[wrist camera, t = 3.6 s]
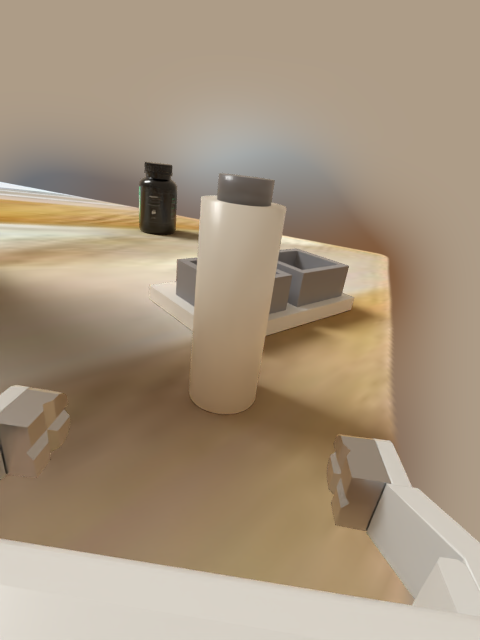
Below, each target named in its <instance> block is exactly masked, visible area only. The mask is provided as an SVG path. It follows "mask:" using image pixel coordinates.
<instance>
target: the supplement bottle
mask: <svg viewBox="0 0 480 640" xmlns="http://www.w3.org/2000/svg"><path fill="white" fill-rule="evenodd" d="M144 172H145V173H146V177H144V178H143V179H142V180H141V181H140V182H139V227H140V230H141V231H143V232H145V233H150V234H158V235H168V234H173V233H174V232H175V230H176V210H177V186H176V184H175V182H173V181H172V180H171V176H172V165H169V164H161V163H153V162H145V170H144Z"/></svg>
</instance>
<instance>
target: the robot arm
mask: <svg viewBox="0 0 480 640" xmlns="http://www.w3.org/2000/svg"><path fill="white" fill-rule="evenodd" d="M67 405H68V399H67V395H66V394H64V393H62V392H56V391H50V390H45V389H39V388H33V387H32V388H31V387H26V386H20V385H14V386H10V387H9V388H8V389H7V390H5V391H4V392H3V393H2V394H1V395H0V480H1V479H3V478H4V477H6V474H7V475H15V476H23V477H31V478H37V477H38V476H39V475H40V473H41V472H42V471H43V469H44V468H45V467H46V465H47V464H48V463H49V462H50V460H51V455H50V453H51V452H53V451H55V450H56V449H58V448H60V447H61V446H62V444H63V443H64V441H65V440H66V437H67V435H68V432H69V429H70V416H69V415H68V413H67V412H66V411H65V410H64V409H65V408H66V406H67ZM334 448H335V452H334V453H333V454H331V455H330V458H329V462H328V468H327V482H328V488H329V490H330V491H331V492H332V494H333V499H332V502H331V505H332V511H333V516H334V521H335V525H337V526H342V527H347V528H353V529H358V530H363V531H367V532H366V533H367V534H368V536H369V537H370V539H371V540H372V541H373V543H374V544H375V545H376V547H377V548H378V550H379V551H380V552H381V554H382V555H383V557H384V558H385V559H386V561H387V562H388V563H389V565H390V566H391V568H392V569H393V570H394V572H395V573H396V575H397V576H398V577H399V579H400V580H401V581H402V583H403V584H404V586H405V587H406V588H407V590H408V591H409V593H410V594H411V595H412V597H413V598H414V599H415V601H414V602H413V604H412V605H406V604H400V603H394V602H388V601H381V600H375V599H369V598H363V597H357V596H351V595H345V594H338V593H332V592H326V591H320V590H314V589H308V588H302V587H296V586H289V585H283V584H277V583H271V582H265V581H259V580H253V579H246V578H240V577H234V576H228V575H222V574H216V573H210V572H203V571H197V570H191V569H185V568H179V567H173V566H166V565H160V564H154V563H148V562H142V561H136V560H129V559H123V558H117V557H111V556H105V555H99V554H92V553H86V552H80V551H74V550H68V549H62V548H56V547H50V546H44V545H38V544H32V543H26V542H20V541H14V540H7V539H1V538H0V640H480V543H479V542H478V541H477V540H476V539H475V538H474V537H473V536H471V535H470V534H469V533H468V532H467V531H466V530H465V529H464V528H462V527H461V526H460V525H459V524H458V523H457V522H456V521H455V520H453V519H452V518H451V517H450V516H449V515H448V514H446V513H445V512H444V511H443V510H442V509H441V508H440V507H439V506H438V505H436V504H435V503H434V502H433V501H432V500H431V499H430V498H428V497H427V496H426V495H425V494H424V493H423V492H421V490H419V489H418V488H413V487H412V485H411V483H410V480H409V478H408V476H407V474H406V471H405V469H404V467H403V465H402V463H401V460H400V458H399V456H398V454H397V451H396V449H395V447H394V445H393V443H392V442H391V441H389V440H381V439H371V438H364V437H357V436H350V435H343V434H338V435H337V436H336V438H335V441H334Z"/></svg>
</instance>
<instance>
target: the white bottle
mask: <svg viewBox="0 0 480 640" xmlns="http://www.w3.org/2000/svg"><path fill="white" fill-rule="evenodd" d="M273 188H274V180H270V179H264V178H258V177H250V176H241V175H233V174H219V180H218V193H217V196H203V197H201V209H200V225H199V240H198V256H197V272H196V287H195V303H194V319H193V335H192V350H191V366H190V382H189V396H190V398H191V400H192V401H193V402H194V403H195V404H196V405H197V406H198V407H200V408H202V409H203V410H206V411H208V412H212V413H216V414H235V413H239V412H242V411H244V410H246V409H248V408H249V407H250V406H251V405H252V404H253V403H254V401H255V397H256V391H257V384H258V378H259V372H260V366H261V360H262V354H263V348H264V342H265V336H266V330H267V323H268V317H269V311H270V305H271V299H272V293H273V287H274V281H275V275H276V268H277V262H278V256H279V250H280V244H281V238H282V231H283V225H284V219H285V214H286V207H285V206H283V205H280V204H276V203H271V202H272V195H273Z"/></svg>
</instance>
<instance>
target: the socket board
mask: <svg viewBox="0 0 480 640" xmlns="http://www.w3.org/2000/svg"><path fill="white" fill-rule="evenodd" d="M348 268H349V266H348V265H345V264H342V263H339V262H336V261H333V260H330V259H327V258H324V257H321V256H317V255H314V254H311V253H308V252H305V251H302V250H299V249H286V250H279V256H278V262H277V268H276V275H275V281H274V287H273V293H272V299H271V305H270V311H269V317H268V323H267V330H266V336H267V335H270V334H273V333H277V332H280V331H283V330H286V329H290V328H293V327H296V326H299V325H303V324H306V323H309V322H313V321H316V320H319V319H322V318H326V317H329V316H332V315H335V314H339V313H342V312H345V311H349V310H351V308H352V304H353V301H354V297H352V296H349V295H347V294H344V293H342V291H343V287H344V283H345V279H346V276H347V272H348ZM196 272H197V258H188V259H177V276H176V281H175V282H167V283H160V284H153V285H149V299H150V300H152V301H153V302H154V303H156V304H157V305H158V306H160V307H161V308H162V309H164V310H165V311H166V312H168V313H169V314H170V315H172V316H173V317H174V318H176V319H177V320H178V321H180V322H181V323H182V324H184V325H185V326H186V327H188V328H189V329H190V330H192V331H193V319H194V303H195V287H196Z"/></svg>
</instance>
